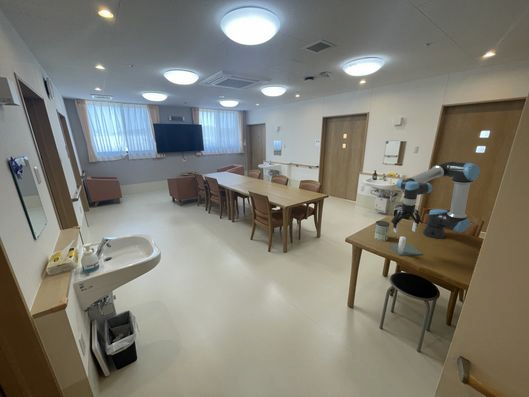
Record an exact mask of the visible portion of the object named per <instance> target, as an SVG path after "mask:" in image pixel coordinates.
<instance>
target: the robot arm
mask: <svg viewBox="0 0 529 397" xmlns="http://www.w3.org/2000/svg"><path fill="white" fill-rule="evenodd" d="M480 171H481V169H480V166H478V164H476V163H471V162H463V161H461V162H460V161H446V162H442V163H439V164H435V165H434V166H432V167H431V168H430V169H428V170H425V171H423V172H420V173H418V174H416V175H413V176H411V177H409V178H406V179H405V178H400V179H398V180H397V181H396V187H397V189H400V190H403V191H404V194H403V200H402V206H401V210H399V209H397V211H396V213H395V214H394V216H393V218H392V219H391V221H390V223H392V224H393V232H394V233H395V234H397V233H398V227H399V223H400V222H401V220H403V218H407V217H408V218H411V219H412V220H413V222H412V228H411V231H412V232H414V233H415V232H416V231H417V227H418V224H420V223H422V220H421V219H422V218H421V217H420V214H419V210H418V209H416V205H417V199H418V198H417V197H418V196H419V195H420V196H421V195H426V194H429V193H431V192H432V191H433V185H432V184H431V183H430V182H429V181H431V180H433V179H436V178H442V177H447V178H448V177H449V178H452V179H451V181H452V182H453V190H452V196H451V197H452V198H451V201H450V202H451V204H450V209H449V211H448V210H447V209H443V208H432V209H431V210H429V212H428V219H427V223H426V226H425V227H424V229H423V231H422V234H423V235H424V236H426V237H428V238H429V237H430V238H432V239H439V240H440V239H444V238H445V237H446V234H445V228H446V229H448V230H451V231H453V232H457V233H462V232H464V231H467V229H468V228H469V227H470V225H471V221H470V219H469V218H468V215H467V214H466V210H467V202H468V197H469V192H470V187H471V186H470V185H471V184H473V183H474V181H477V179H478V178H479V176H480V173H481V172H480Z"/></svg>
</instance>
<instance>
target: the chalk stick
mask: <svg viewBox="0 0 529 397" xmlns="http://www.w3.org/2000/svg"><path fill="white" fill-rule="evenodd" d="M406 241H407V237H406V236H399V240H398V244H399V245H398V251H397V252H398V253H404V249H405V244H407V243H406Z"/></svg>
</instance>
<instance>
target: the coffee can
mask: <svg viewBox="0 0 529 397" xmlns="http://www.w3.org/2000/svg"><path fill="white" fill-rule="evenodd" d="M390 225H391V224H390V222H388V221H386V220H376V221H375V226H374V236H373V237H374V239H375V240H378V241H381V242H382V241H385V242H386V241H387V240H388V238H389V237H388V236H389V231H390V230H389V229H390Z"/></svg>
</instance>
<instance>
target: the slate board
mask: <svg viewBox="0 0 529 397" xmlns="http://www.w3.org/2000/svg"><path fill="white" fill-rule="evenodd" d="M398 245H399V243H398V244H397V243H396V244H388V247H389V249H391V250H392V251H393V252H394V253H396V254H397V255H398V256H399V257H401V256H404V257H405V256H423V252H422V251H420V250H419V249H417V248H416V247H415V246H413V245H412V244H410V243H405V249H404V253H398V252H397V251H398Z"/></svg>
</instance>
